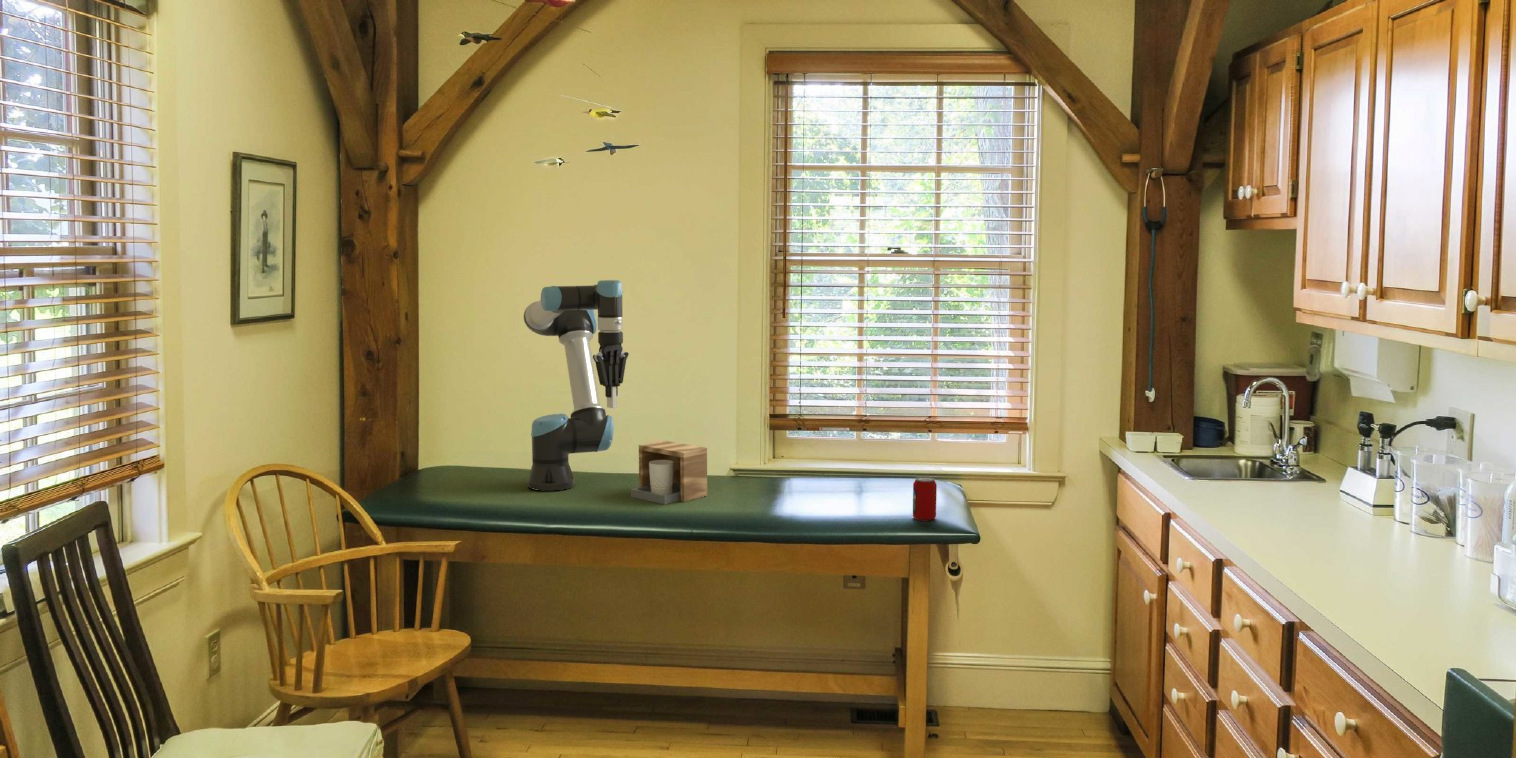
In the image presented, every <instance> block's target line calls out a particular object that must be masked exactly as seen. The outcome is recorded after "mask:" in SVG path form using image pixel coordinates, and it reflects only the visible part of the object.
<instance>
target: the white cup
mask: <svg viewBox="0 0 1516 758" xmlns="http://www.w3.org/2000/svg"><path fill="white" fill-rule="evenodd" d="M649 474H650V485H651V493H656V494H661V495H668V494H672V493H673V486H672V485H673V477H674V462H673V461H671V460H653V461H650V462H649Z"/></svg>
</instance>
